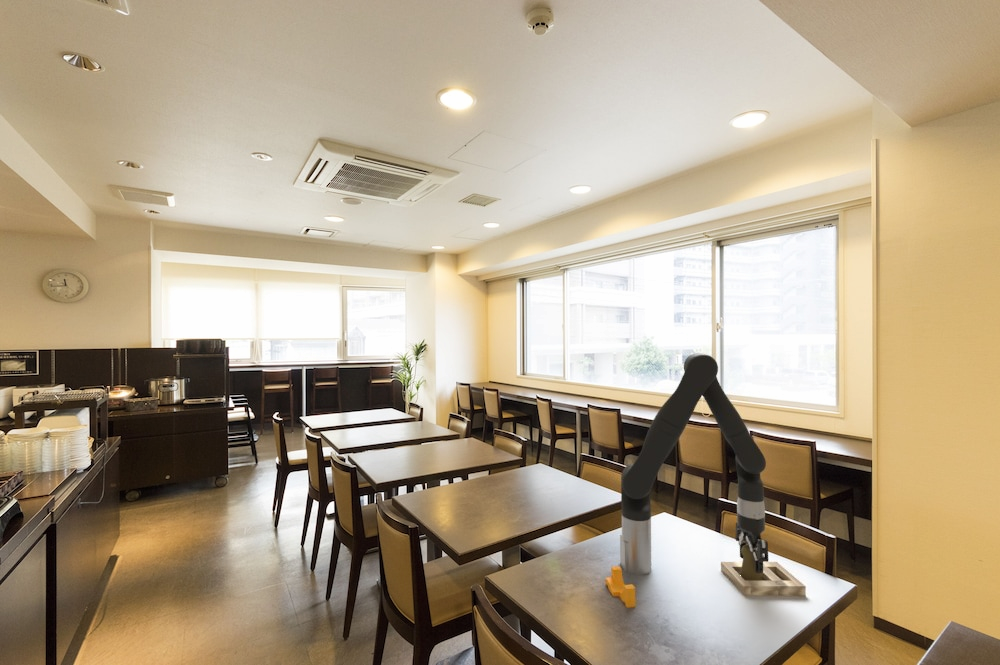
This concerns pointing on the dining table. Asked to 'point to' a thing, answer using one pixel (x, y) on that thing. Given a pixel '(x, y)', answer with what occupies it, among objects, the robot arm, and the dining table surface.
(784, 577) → the socket block
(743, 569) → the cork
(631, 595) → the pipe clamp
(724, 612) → the dining table surface
